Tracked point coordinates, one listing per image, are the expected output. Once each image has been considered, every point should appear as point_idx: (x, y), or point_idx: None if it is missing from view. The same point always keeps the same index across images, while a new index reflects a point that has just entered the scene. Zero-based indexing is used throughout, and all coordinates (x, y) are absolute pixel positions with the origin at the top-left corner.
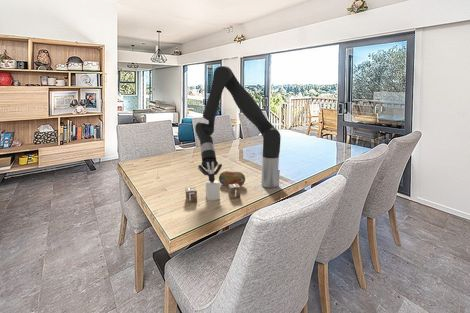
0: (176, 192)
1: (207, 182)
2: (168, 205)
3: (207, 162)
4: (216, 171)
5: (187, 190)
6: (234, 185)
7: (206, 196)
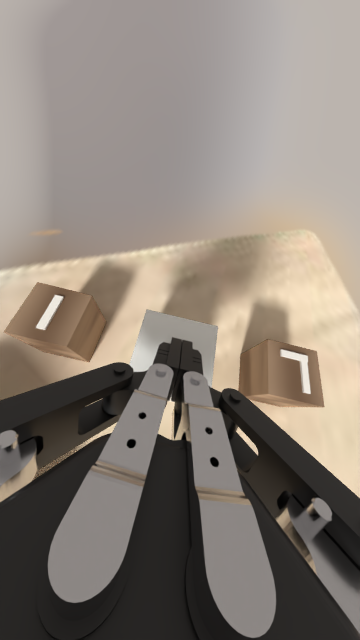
0: None
1: (204, 373)
2: (341, 374)
3: (249, 590)
4: (118, 367)
5: (311, 364)
6: (51, 308)
7: None
